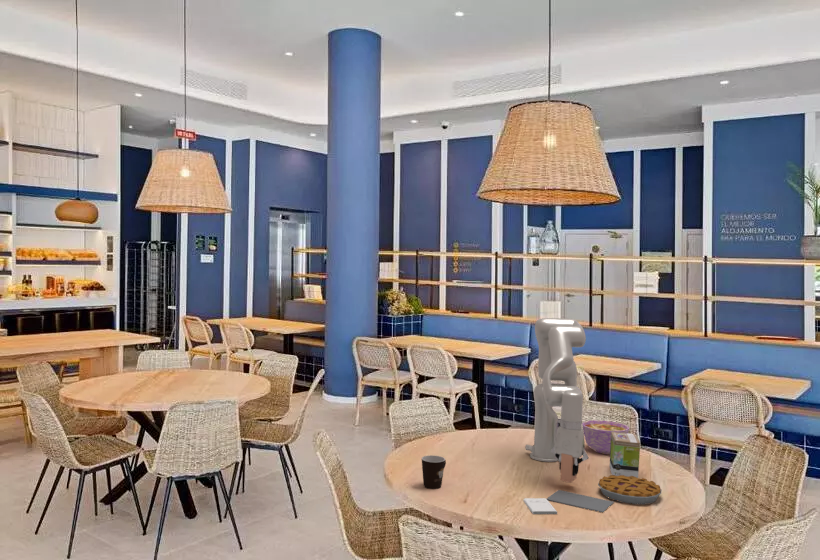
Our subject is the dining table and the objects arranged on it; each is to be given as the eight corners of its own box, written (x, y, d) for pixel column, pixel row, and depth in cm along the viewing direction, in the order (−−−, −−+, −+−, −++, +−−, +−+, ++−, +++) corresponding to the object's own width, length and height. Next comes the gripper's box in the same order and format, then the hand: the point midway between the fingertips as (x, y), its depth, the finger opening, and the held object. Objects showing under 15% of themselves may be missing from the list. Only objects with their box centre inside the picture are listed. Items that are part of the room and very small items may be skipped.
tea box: (639, 480, 264) (640, 442, 264) (612, 477, 266) (613, 440, 266) (634, 469, 279) (636, 432, 279) (608, 466, 281) (610, 430, 281)
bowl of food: (603, 443, 318) (604, 418, 317) (637, 454, 301) (638, 428, 300) (571, 448, 307) (572, 422, 307) (605, 460, 290) (606, 433, 290)
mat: (546, 499, 239) (546, 498, 239) (558, 490, 249) (558, 489, 249) (603, 513, 228) (603, 511, 228) (613, 502, 238) (613, 501, 238)
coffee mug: (427, 491, 243) (428, 463, 243) (416, 483, 251) (417, 456, 251) (455, 487, 249) (456, 459, 249) (443, 480, 256) (444, 453, 256)
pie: (606, 481, 262) (607, 468, 262) (666, 493, 251) (667, 479, 250) (590, 497, 243) (590, 483, 243) (654, 511, 232) (655, 496, 232)
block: (560, 480, 251) (561, 453, 251) (565, 475, 256) (567, 449, 256) (570, 482, 249) (572, 455, 248) (576, 478, 254) (577, 451, 254)
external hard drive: (532, 516, 225) (523, 502, 237) (557, 516, 225) (546, 502, 238) (533, 511, 225) (523, 497, 237) (557, 511, 225) (546, 497, 238)
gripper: (545, 422, 253) (543, 471, 254) (590, 431, 244) (587, 481, 245) (553, 418, 259) (550, 465, 260) (596, 426, 250) (594, 475, 251)
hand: (568, 472), depth 253 cm, fingers closed on block, 4 cm apart
